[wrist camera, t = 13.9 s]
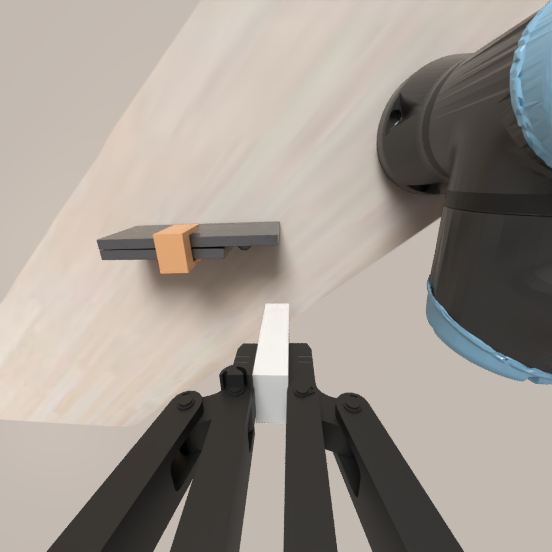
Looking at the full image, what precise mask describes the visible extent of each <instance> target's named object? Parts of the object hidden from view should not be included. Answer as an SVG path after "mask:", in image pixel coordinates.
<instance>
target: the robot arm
mask: <svg viewBox="0 0 552 552" xmlns="http://www.w3.org/2000/svg"><path fill="white" fill-rule="evenodd" d="M377 150H378V156H379V160H380V163H381V165H382V167H383V169H384V171H385V173H386V174H387V176H388V177H389V178H390V179H391V181H393V182H394V183H395V184H396V185H397V186H399V187H400V188H402V189H404V190H406V191H409V192H412V193H417V194H424V195H440V194H446V197H445V202H444V205H443V210H442V216H441V222H440V228H439V233H438V238H437V244H436V250H435V255H434V260H433V265H432V269H431V274H430V275H429V278H428V281H427V290H428V297H427V305H426V315H427V319H428V322H429V324H430V325H431V326H432V327H433V330H434V332H435V333H436V335H437V336H438V337H439V338H440V339H441V340H442V341H443V342H444V343H445V344H446V345H447V346H448V347H449V348H451V349H452V350H453V351H455V352H456V353H457V354H459V355H460V356H462V357H464V358H465V359H467V360H468V361H470V362H472V363H474V364H476V365H478V366H480V367H482V368H484V369H486V370H488V371H491V372H493V373H495V374H498V375H501V376H504V377H507V378H510V379H514V380H517V381H524V380H526V379H529V380H530V381H532V382H533V383H535V384H552V0H550V1H549V2H548V3H547V4H546V5H545V6H544V7H543V8H541V9H540V10H538V11H537V12H535V13H534V14H532V15H531V16H529V17H528V18H526V19H525V20H523V21H522V22H520V23H519V24H517V25H516V26H514V27H513V28H511V29H510V30H508V31H507V32H505V33H504V34H502V35H501V36H499V37H498V38H496V39H494V40H493V41H491V42H490V43H488V44H487V45H485V46H484V47H482V48H481V49H479V50H478V51H476V52H475V53H467V54H455V55H449V56H446V57H442V58H440V59H437V60H435V61H433V62H431V63H429V64H427V65H425V66H424V67H422V68H421V69H419V70H418V71H417V72H415V73H414V74H413V75H411V76H410V77H409V78H408V79H407V80H405V81H404V82H403V83H402V84H401V85H400V86H399V88H398V89H397V90H396V91H395V92H394V94H393V95H392V97H391V98H390V100H389V101H388V103H387V105H386V107H385V109H384V111H383V114H382V117H381V120H380V123H379V128H378V134H377ZM219 377H220V384H221V391H220V392H218V393H216V394H213V395H210V396H206V397H202V396H201V395H200V394H199V393H198V392H196V391H186V392H182V393H180V394H178V395H177V396H176V397H175V398H173V399H172V400H171V402H170V403H169V404H168V405H167V407H166V408H165V409H164V410H163V411H162V413H161V414H160V415H159V416H158V417H157V419H156V420H155V421H154V422H153V423H152V425H151V426H150V427H149V428H148V430H147V431H146V432H145V433H144V434H143V436H142V437H141V438H140V439H139V440H138V442H137V443H136V444H135V445H134V446H133V448H132V449H131V450H130V451H129V453H128V454H127V455H126V456H125V457H124V459H123V460H122V461H121V462H120V463H119V465H118V466H117V467H116V468H115V470H114V471H113V472H112V473H111V474H110V476H109V477H108V478H107V479H106V481H105V482H104V483H103V484H102V485H101V486H100V488H99V489H98V490H97V491H96V492H95V494H94V495H93V496H92V497H91V499H90V500H89V501H88V502H87V503H86V505H85V506H84V507H83V508H82V510H81V511H80V512H79V513H78V514H77V516H76V517H75V518H74V519H73V520H72V522H71V523H70V524H69V525H68V526H67V528H66V529H65V530H64V531H63V532H62V534H61V535H60V536H59V537H58V539H57V540H56V541H55V542H54V543H53V544H52V546H51V547H50V548H49V550H48V551H47V552H153V551H154V549H155V547H156V545H157V543H158V542H159V540H160V538H161V536H162V534H163V532H164V531H165V529H166V527H167V525H168V523H169V521H170V520H171V518H172V516H173V514H174V512H175V510H176V508H177V507H178V505H179V503H180V501H181V499H182V498H183V496H184V494H185V492H186V490H187V488H188V487H189V485H190V483H191V481H192V479H193V481H192V484H191V487H190V490H189V493H188V496H187V500H186V502H185V506H184V509H183V512H182V515H181V518H180V521H179V525H178V528H177V531H176V534H175V537H174V541H173V544H172V547H171V550H170V552H239V549H240V541H241V534H242V526H243V518H244V511H245V504H246V496H247V489H248V481H249V474H250V467H251V459H252V452H253V444H254V437H255V430H254V423H255V417H256V423H285V424H286V457H285V459H286V460H285V461H286V462H285V506H284V552H337V544H336V535H335V527H334V519H333V511H332V503H331V496H330V487H329V479H328V471H327V463H326V454H325V449H326V450H329V451H332V452H333V453H334V456H335V459H336V461H337V464H338V466H339V469H340V472H341V474H342V477H343V479H344V482H345V484H346V487H347V489H348V492H349V494H350V497H351V499H352V502H353V504H354V507H355V509H356V512H357V514H358V517H359V519H360V522H361V524H362V527H363V529H364V532H365V534H366V537H367V539H368V542H369V544H370V547H371V549H372V552H464V551H463V549H462V548H461V546H460V545H459V543H458V542H457V540H456V539H455V537H454V535H453V534H452V532H451V531H450V529H449V528H448V526H447V525H446V523H445V522H444V520H443V518H442V517H441V515H440V514H439V512H438V511H437V509H436V508H435V506H434V504H433V503H432V501H431V500H430V498H429V497H428V495H427V493H426V492H425V490H424V489H423V487H422V486H421V484H420V483H419V481H418V480H417V478H416V476H415V475H414V473H413V472H412V470H411V469H410V467H409V465H408V464H407V462H406V461H405V459H404V458H403V456H402V455H401V453H400V451H399V450H398V448H397V447H396V445H395V444H394V442H393V440H392V439H391V437H390V436H389V435H388V433H387V431H386V430H385V428H384V427H383V425H382V423H381V422H380V420H379V419H378V417H377V416H376V414H375V413H374V411H373V410H372V408H371V407H370V405H369V403H368V402H367V401H366V400H365V399H364V398H363V397H362V396H360V395H358V394H354V393H344V394H341V395H340V396H339V397H338V398H333V397H330V396H328V395H325V394H324V393H322V392H321V391H320V390H318V388H317V387H316V383H315V376H314V368H313V359H312V351H311V348H310V347H309V346H308V344H306V343H289V304H266V306H265V311H264V316H263V321H262V327H261V332H260V337H259V343H258V344H242V345H241V346H240V347H239V349H238V350H237V354H236V357H235V360H234V364H233V365H231V366H228V367H226V368H225V369H223V370H222V371H221V373H220V375H219Z"/></svg>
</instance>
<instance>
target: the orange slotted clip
mask: <svg viewBox="0 0 552 552" xmlns="http://www.w3.org/2000/svg"><path fill="white" fill-rule="evenodd" d="M198 229H200V228H199V224H180V225H173V226H170V227H168V228H166V229H164V230H162V231H159V232H157V233H155V234H153V239H154V243H155V248H156V253H157V258H158V263H159V268H160V273H161V274H166V273H189V272H190V271H191V270H192V269H193V268H194V267H195V266H196V265H197V264H198V263H199V262H200V261H201V260H202V259H193V257H192V251H191V244H190V238H189V235H190V234H192V233H193V232H195V231H197V230H198Z"/></svg>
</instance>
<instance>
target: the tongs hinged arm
mask: <svg viewBox="0 0 552 552" xmlns="http://www.w3.org/2000/svg"><path fill="white" fill-rule="evenodd" d="M232 247H233V246H217V247H191V251H192V257H193V259H224V258H225V257H226V255H227V254H228V253H229V251H230V250H231V249H232ZM100 254H101V258H102V260H143V259H158V258H157V253H156V248H144V249H107V250H100Z"/></svg>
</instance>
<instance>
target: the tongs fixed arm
mask: <svg viewBox="0 0 552 552" xmlns="http://www.w3.org/2000/svg"><path fill="white" fill-rule="evenodd" d="M170 226H173V225H156V226H135V227H132V228H130V229H127V230H124V231H121V232H118V233H115V234H112V235H109V236H106V237H103V238H101V239H98V240H97V243H98V247H99V250H107V249H144V248H155V243H154V239H153V234H155V233H157V232H159V231H162V230H164V229H166V228H168V227H170ZM199 228H200V229H198V230H197V231H195V232H193V233H192V234H190V235H189V238H190V244H191V247H217V246H238V247H239V248H240V249H241V250H248V249H249V248H250V247H251V246H254V245H278V242H279V232H280V222H252V223H220V224H199Z"/></svg>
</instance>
